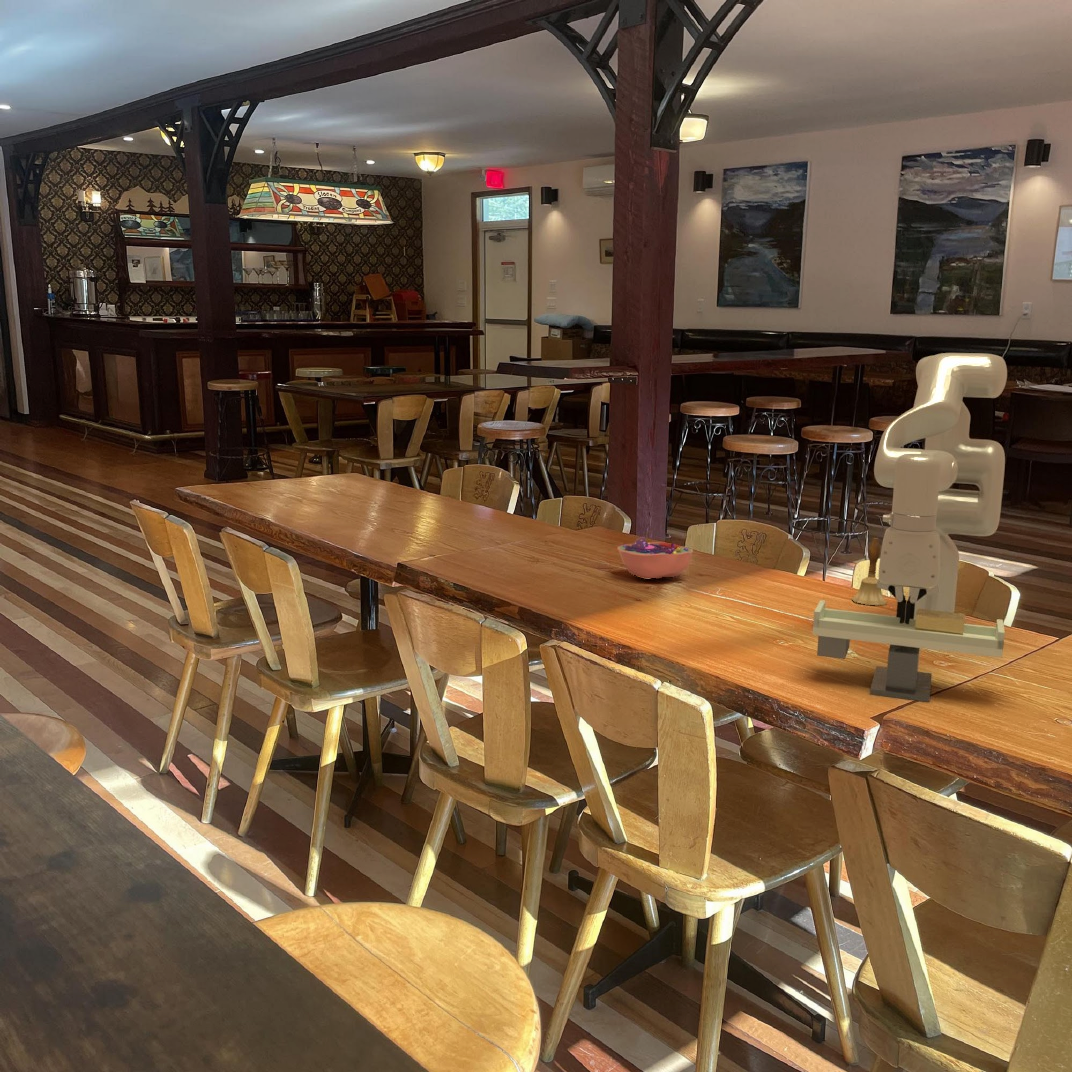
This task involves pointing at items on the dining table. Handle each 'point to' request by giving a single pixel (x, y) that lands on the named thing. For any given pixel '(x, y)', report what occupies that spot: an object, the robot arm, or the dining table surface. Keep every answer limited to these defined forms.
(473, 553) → the dining table surface
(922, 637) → the balance beam
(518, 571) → the dining table surface
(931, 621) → the block
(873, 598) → the hand bell
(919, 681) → the pivot stand
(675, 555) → the cell model
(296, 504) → the dining table surface
